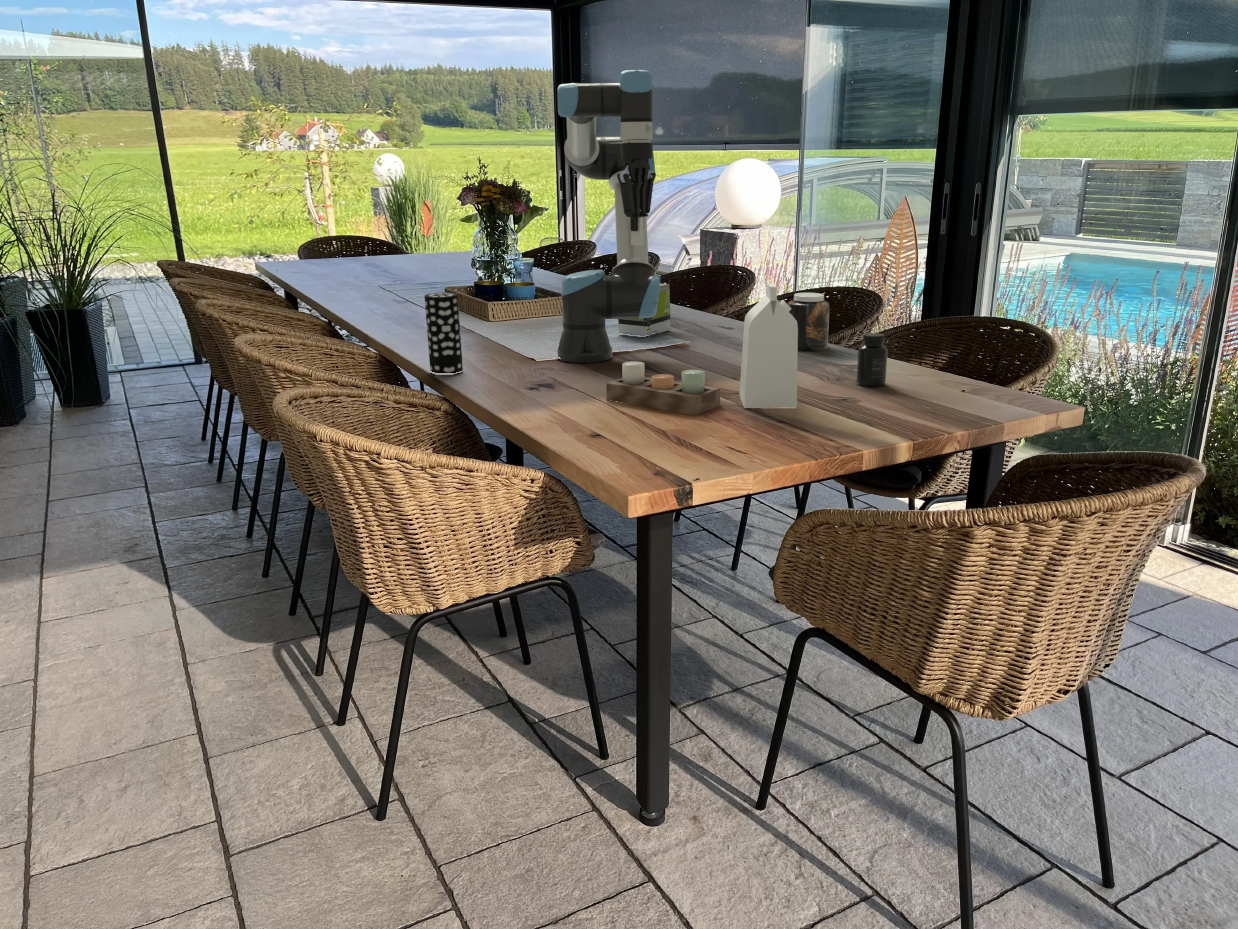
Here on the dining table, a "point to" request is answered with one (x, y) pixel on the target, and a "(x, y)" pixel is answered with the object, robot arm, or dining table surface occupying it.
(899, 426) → the dining table surface
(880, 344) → the supplement bottle
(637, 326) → the tea box
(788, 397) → the milk
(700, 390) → the pale green domed cylinder
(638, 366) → the off-white button
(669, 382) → the peach rounded cylinder
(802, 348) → the jar
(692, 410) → the wooden compartment tray
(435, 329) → the white-spotted black cylinder
